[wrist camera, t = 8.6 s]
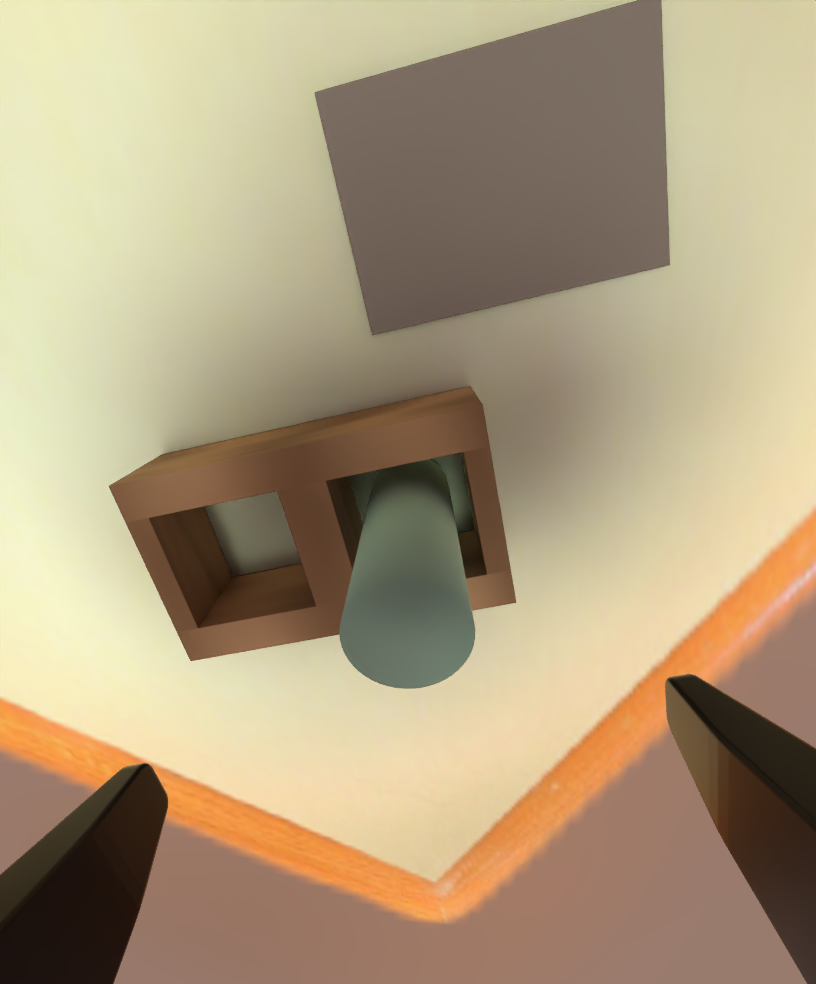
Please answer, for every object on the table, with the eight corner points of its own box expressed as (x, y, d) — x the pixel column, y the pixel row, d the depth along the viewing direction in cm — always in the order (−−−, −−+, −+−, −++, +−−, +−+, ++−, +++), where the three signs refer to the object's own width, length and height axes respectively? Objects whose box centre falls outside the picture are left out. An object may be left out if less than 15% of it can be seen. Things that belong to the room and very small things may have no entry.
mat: (656, -1, 14) (660, -7, 14) (665, 265, 16) (669, 265, 16) (316, 96, 15) (314, 92, 15) (372, 334, 17) (372, 335, 17)
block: (470, 386, 18) (482, 405, 15) (499, 554, 20) (516, 602, 17) (161, 454, 19) (108, 486, 16) (225, 606, 21) (190, 661, 18)
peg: (440, 446, 19) (461, 564, 10) (455, 517, 20) (485, 676, 11) (364, 462, 19) (323, 590, 10) (382, 531, 20) (358, 697, 12)
